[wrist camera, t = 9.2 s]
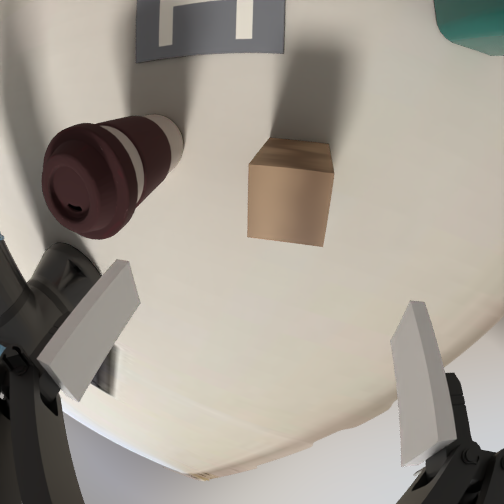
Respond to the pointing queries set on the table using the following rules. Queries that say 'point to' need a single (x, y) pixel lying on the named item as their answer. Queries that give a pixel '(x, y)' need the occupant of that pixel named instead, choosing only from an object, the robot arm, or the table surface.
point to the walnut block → (290, 191)
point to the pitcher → (473, 24)
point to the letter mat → (208, 27)
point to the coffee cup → (107, 171)
